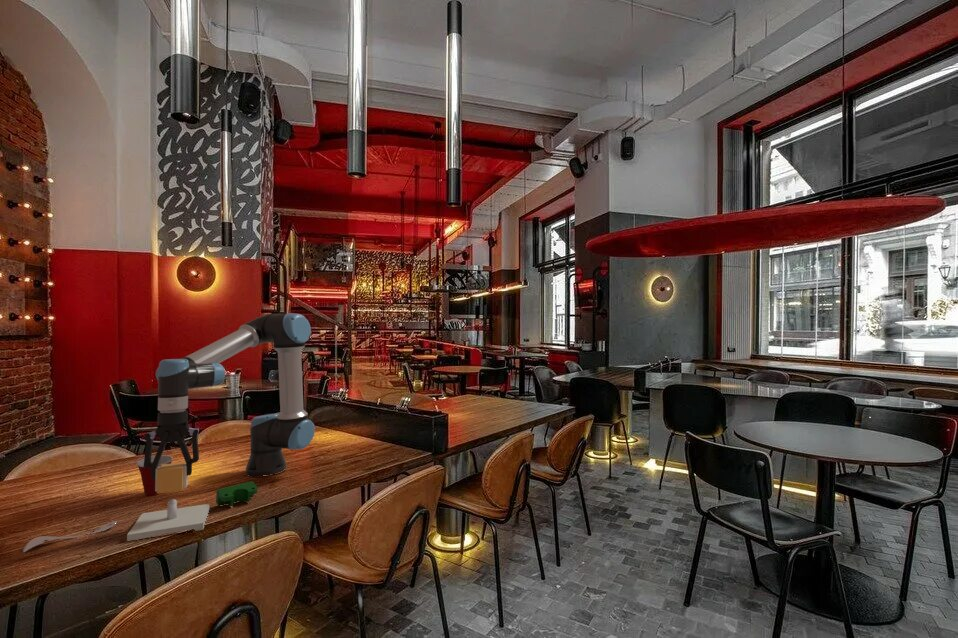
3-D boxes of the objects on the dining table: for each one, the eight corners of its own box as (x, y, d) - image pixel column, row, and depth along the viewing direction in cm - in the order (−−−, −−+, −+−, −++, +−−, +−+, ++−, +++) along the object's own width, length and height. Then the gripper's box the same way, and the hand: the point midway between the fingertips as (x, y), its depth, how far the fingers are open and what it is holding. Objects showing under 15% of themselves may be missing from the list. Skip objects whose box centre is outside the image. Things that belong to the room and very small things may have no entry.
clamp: (226, 522, 148) (216, 501, 144) (221, 512, 152) (211, 492, 148) (263, 499, 155) (254, 479, 151) (256, 491, 159) (248, 471, 155)
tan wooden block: (185, 484, 140) (186, 461, 140) (182, 490, 134) (182, 467, 134) (161, 487, 137) (162, 464, 137) (156, 493, 131) (157, 470, 132)
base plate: (210, 509, 147) (210, 486, 147) (203, 529, 132) (203, 503, 132) (142, 519, 139) (142, 494, 139) (127, 542, 125) (127, 514, 125)
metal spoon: (115, 512, 136) (118, 516, 133) (115, 523, 136) (119, 528, 133) (20, 539, 121) (22, 545, 118) (21, 552, 121) (23, 558, 118)
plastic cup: (132, 500, 155) (133, 465, 155) (139, 490, 164) (139, 457, 164) (170, 495, 160) (171, 461, 160) (174, 485, 169) (175, 453, 169)
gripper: (130, 415, 129) (128, 497, 128) (208, 410, 137) (207, 487, 136) (137, 411, 136) (135, 488, 135) (211, 406, 144) (210, 480, 143)
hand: (171, 488), depth 136 cm, fingers closed on tan wooden block, 6 cm apart
